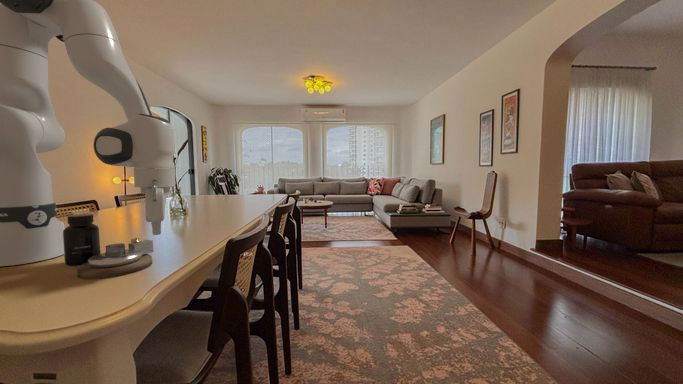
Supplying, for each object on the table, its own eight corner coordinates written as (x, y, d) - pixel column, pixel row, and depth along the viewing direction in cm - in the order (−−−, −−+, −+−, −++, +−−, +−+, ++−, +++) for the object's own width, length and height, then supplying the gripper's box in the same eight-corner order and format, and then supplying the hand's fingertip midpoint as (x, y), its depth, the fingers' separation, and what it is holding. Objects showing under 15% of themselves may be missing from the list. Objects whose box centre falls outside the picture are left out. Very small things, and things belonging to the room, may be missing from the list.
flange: (104, 269, 62) (103, 253, 62) (78, 264, 66) (77, 248, 66) (163, 253, 74) (162, 239, 74) (138, 249, 78) (137, 236, 78)
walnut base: (62, 274, 65) (60, 250, 65) (128, 256, 78) (126, 236, 78) (102, 282, 60) (100, 256, 60) (165, 262, 73) (164, 240, 73)
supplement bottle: (80, 267, 70) (75, 217, 69) (57, 265, 71) (53, 217, 70) (108, 258, 77) (104, 213, 76) (87, 257, 78) (83, 212, 77)
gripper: (170, 181, 67) (171, 241, 68) (169, 178, 84) (170, 226, 85) (136, 181, 64) (138, 244, 65) (143, 178, 81) (144, 227, 82)
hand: (156, 233), depth 75 cm, fingers closed
